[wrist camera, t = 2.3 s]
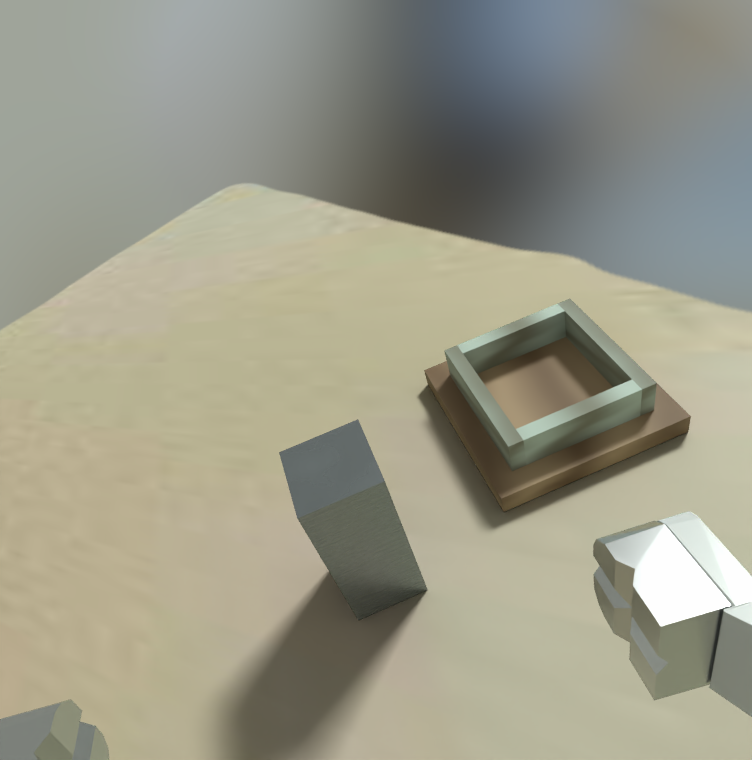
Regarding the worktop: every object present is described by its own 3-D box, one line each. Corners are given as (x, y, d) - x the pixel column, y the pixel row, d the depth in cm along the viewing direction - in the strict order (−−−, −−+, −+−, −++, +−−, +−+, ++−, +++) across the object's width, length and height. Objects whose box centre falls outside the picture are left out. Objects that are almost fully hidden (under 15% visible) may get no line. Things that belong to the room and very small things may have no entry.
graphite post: (358, 620, 37) (297, 518, 29) (338, 558, 40) (279, 452, 32) (427, 589, 37) (384, 481, 29) (402, 531, 40) (357, 419, 33)
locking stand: (503, 511, 39) (496, 474, 36) (427, 383, 49) (417, 346, 46) (688, 431, 40) (695, 389, 37) (578, 321, 50) (577, 280, 47)
